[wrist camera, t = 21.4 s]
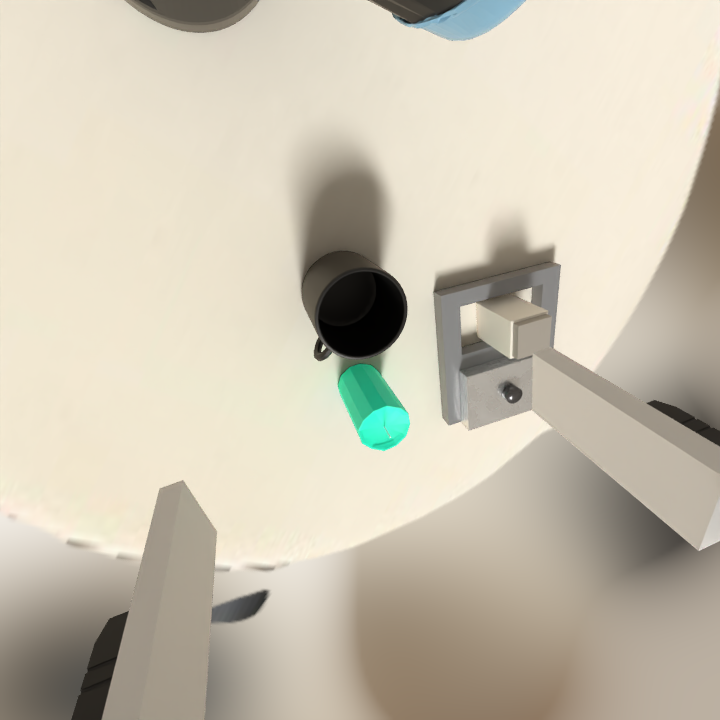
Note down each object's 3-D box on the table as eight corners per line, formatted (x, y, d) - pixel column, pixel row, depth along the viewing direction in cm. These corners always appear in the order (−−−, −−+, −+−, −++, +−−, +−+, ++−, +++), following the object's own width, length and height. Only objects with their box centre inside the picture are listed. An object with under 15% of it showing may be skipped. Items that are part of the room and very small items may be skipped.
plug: (476, 336, 53) (515, 362, 46) (476, 302, 51) (516, 324, 43) (508, 327, 54) (551, 351, 46) (509, 293, 51) (554, 313, 44)
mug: (274, 324, 44) (282, 356, 36) (329, 233, 42) (350, 247, 34) (340, 358, 48) (360, 393, 41) (394, 277, 46) (426, 298, 38)
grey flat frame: (433, 291, 48) (440, 296, 46) (549, 261, 51) (560, 264, 49) (442, 417, 57) (448, 425, 56) (540, 386, 60) (549, 392, 59)
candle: (352, 356, 49) (382, 406, 38) (389, 372, 51) (426, 423, 41) (329, 394, 50) (352, 451, 40) (366, 408, 53) (397, 465, 43)
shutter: (459, 370, 52) (471, 381, 49) (542, 345, 54) (558, 355, 51) (461, 422, 56) (473, 435, 53) (538, 397, 58) (553, 408, 56)
